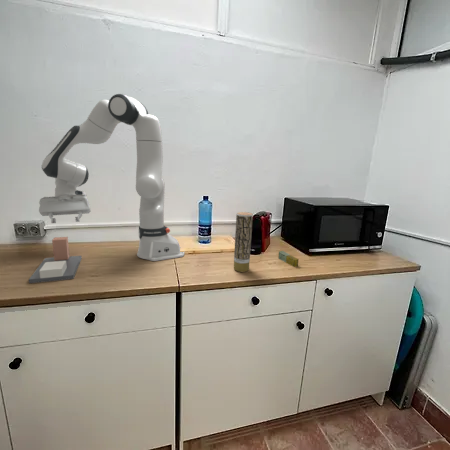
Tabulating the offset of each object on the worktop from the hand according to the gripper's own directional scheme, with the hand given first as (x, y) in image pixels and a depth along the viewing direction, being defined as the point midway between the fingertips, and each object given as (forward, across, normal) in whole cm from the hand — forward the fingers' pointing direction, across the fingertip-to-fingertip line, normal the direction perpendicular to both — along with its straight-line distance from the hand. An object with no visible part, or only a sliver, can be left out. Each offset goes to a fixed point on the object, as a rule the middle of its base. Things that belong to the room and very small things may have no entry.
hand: (65, 221), depth 119 cm
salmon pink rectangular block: (+16, -2, +3) cm, 16 cm away
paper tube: (+39, +70, -16) cm, 82 cm away
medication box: (+39, +96, -14) cm, 104 cm away
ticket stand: (+23, -2, -1) cm, 23 cm away
